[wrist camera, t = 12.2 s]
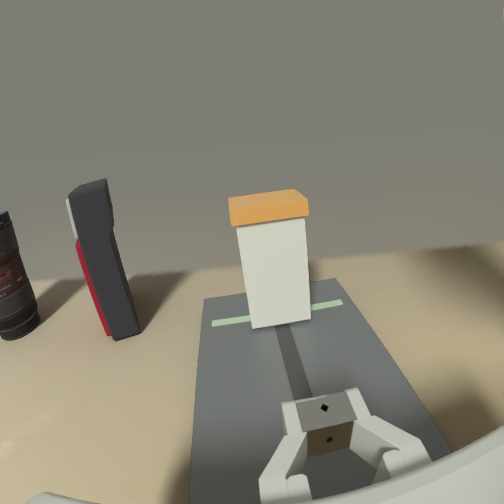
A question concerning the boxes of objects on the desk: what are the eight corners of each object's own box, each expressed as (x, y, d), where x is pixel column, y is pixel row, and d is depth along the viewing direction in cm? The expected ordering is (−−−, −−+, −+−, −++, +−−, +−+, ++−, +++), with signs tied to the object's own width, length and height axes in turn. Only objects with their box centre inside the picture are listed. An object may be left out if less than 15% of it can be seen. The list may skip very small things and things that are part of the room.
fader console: (335, 287, 33) (335, 276, 33) (453, 475, 11) (461, 464, 10) (206, 308, 33) (203, 297, 32) (195, 536, 10) (187, 530, 10)
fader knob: (303, 294, 30) (294, 188, 26) (315, 320, 26) (307, 199, 22) (245, 304, 30) (228, 198, 26) (248, 331, 26) (229, 210, 22)
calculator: (104, 300, 37) (72, 187, 32) (135, 291, 39) (106, 177, 34) (107, 345, 28) (59, 197, 23) (146, 333, 30) (105, 183, 24)
